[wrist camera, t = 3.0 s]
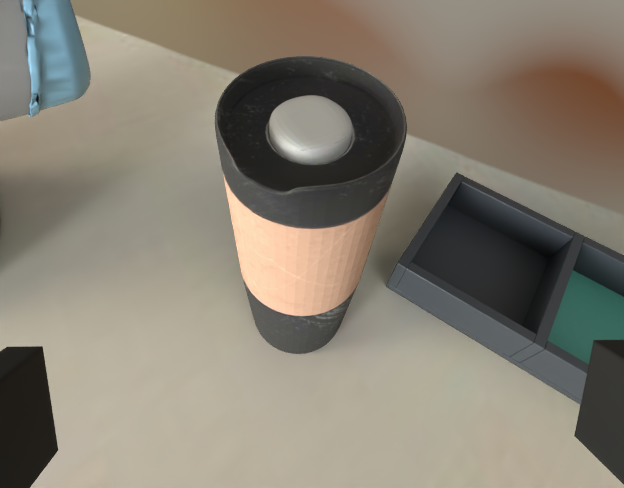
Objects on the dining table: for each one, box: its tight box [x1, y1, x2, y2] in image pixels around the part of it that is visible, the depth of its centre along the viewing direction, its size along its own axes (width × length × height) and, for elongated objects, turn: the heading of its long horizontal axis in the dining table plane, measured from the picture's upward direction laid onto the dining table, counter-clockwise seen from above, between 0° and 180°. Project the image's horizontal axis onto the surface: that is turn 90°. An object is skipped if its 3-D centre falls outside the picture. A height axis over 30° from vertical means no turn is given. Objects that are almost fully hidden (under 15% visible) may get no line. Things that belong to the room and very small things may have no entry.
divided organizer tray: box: [386, 173, 624, 405], centre depth 32 cm, size 22×12×4 cm, turn 56°
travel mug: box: [215, 56, 407, 354], centre depth 24 cm, size 8×8×20 cm
